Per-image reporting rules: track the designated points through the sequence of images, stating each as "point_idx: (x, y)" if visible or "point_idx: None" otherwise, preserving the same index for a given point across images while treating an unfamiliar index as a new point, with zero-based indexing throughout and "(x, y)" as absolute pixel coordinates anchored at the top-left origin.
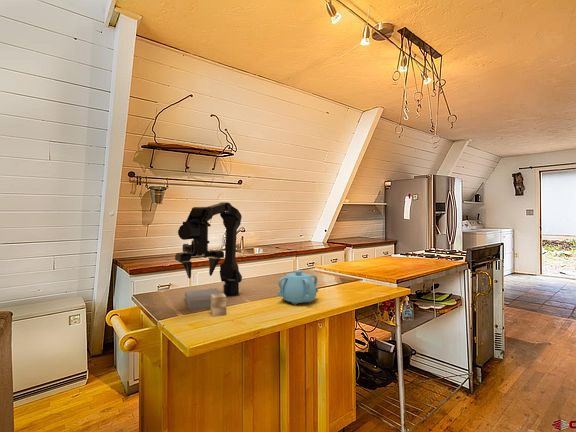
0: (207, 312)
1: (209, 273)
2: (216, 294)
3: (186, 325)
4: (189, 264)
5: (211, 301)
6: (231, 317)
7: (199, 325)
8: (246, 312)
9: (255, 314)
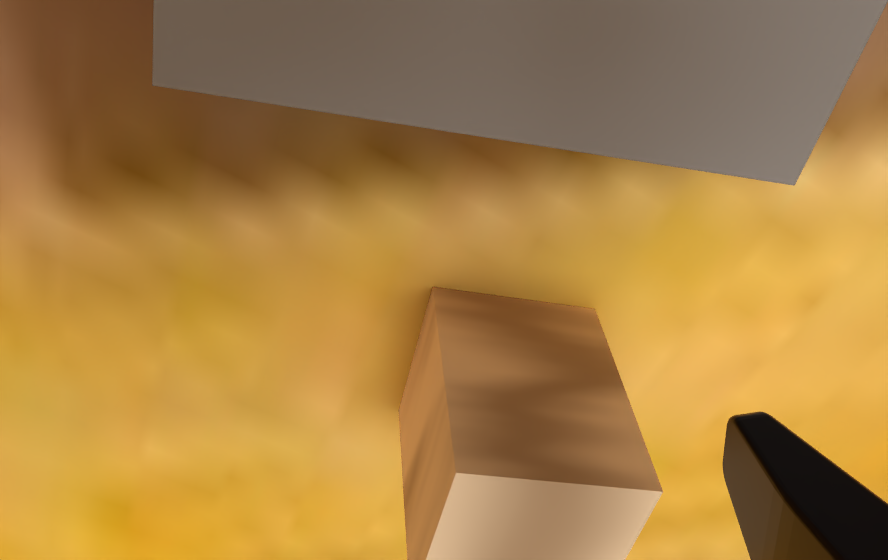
0: (394, 266)
1: (753, 459)
2: (535, 497)
3: (72, 516)
4: None
5: (433, 442)
6: None
7: (194, 554)
8: None
9: None
